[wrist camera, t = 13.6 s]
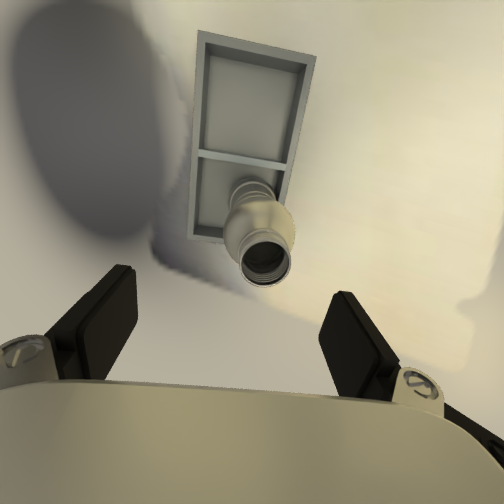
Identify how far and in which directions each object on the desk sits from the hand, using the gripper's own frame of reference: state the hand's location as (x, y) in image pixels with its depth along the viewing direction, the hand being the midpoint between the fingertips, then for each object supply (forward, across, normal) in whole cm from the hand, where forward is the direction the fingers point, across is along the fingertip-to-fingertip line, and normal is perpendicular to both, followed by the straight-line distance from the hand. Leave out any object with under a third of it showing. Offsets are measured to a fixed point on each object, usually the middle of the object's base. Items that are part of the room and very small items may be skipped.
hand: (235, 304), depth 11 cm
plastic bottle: (+25, -2, +1) cm, 25 cm away
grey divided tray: (+26, 0, -5) cm, 27 cm away
